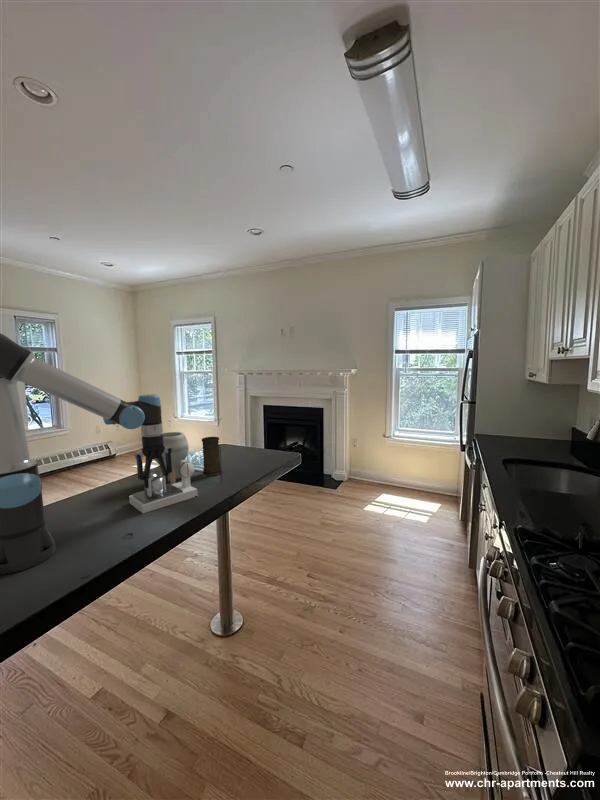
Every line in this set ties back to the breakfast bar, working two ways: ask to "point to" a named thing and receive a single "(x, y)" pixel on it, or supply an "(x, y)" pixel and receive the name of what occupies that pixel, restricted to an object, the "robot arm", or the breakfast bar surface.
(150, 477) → the spacer
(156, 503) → the scale
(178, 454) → the planter
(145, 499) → the pan
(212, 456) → the container
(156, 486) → the spacer
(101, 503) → the breakfast bar surface
